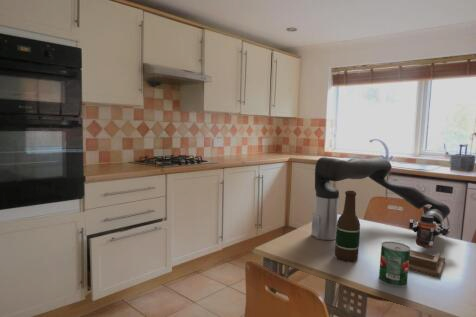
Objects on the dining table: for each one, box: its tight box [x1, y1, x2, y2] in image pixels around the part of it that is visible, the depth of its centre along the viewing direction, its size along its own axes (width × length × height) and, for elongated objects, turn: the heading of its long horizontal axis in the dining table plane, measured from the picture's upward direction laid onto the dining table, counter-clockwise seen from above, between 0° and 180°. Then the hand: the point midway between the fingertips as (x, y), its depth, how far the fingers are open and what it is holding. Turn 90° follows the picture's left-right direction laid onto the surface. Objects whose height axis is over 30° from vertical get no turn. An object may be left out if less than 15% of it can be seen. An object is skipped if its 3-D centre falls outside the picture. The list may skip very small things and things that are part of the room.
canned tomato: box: [378, 241, 411, 288], centre depth 100 cm, size 8×8×11 cm
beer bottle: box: [334, 190, 361, 263], centre depth 116 cm, size 8×8×24 cm
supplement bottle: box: [415, 214, 436, 249], centre depth 123 cm, size 6×6×11 cm
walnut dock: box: [408, 249, 446, 279], centre depth 114 cm, size 16×14×4 cm
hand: (425, 231), depth 121 cm, fingers closed on supplement bottle, 6 cm apart
